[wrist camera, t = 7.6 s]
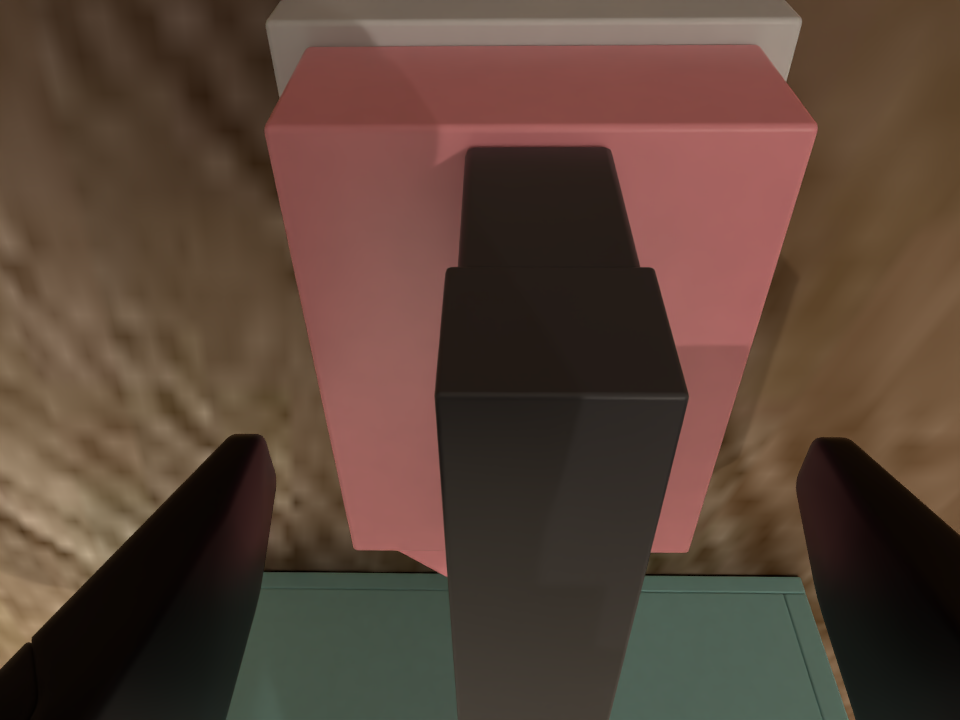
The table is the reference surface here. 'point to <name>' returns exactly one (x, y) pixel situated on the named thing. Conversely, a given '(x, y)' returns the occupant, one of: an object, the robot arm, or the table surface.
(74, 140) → the table surface
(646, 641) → the teal open box
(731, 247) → the iron
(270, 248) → the table surface
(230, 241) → the table surface
